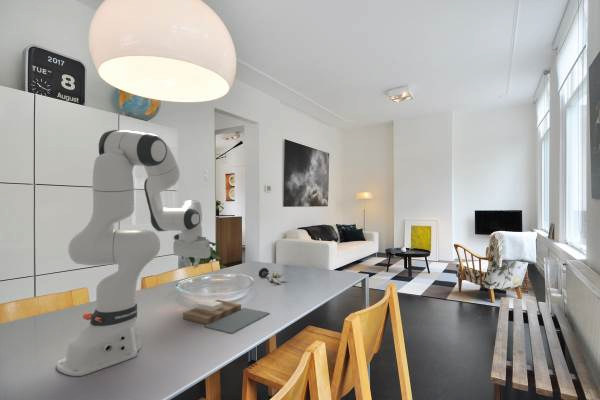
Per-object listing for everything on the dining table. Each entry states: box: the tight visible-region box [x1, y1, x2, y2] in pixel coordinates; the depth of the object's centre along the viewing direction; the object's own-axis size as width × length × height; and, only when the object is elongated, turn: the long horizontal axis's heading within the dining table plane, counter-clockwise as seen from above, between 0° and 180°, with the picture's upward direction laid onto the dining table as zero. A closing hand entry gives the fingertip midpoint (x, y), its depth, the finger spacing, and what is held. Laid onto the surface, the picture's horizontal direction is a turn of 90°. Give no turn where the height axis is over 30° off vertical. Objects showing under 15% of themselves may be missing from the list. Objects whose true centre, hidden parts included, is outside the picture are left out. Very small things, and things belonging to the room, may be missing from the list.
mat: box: [203, 307, 270, 335], centre depth 129 cm, size 24×14×1 cm, turn 151°
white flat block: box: [196, 299, 222, 311], centre depth 137 cm, size 6×9×2 cm, turn 61°
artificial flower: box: [258, 267, 284, 286], centre depth 193 cm, size 9×22×10 cm, turn 26°
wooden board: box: [182, 299, 242, 326], centre depth 136 cm, size 20×14×2 cm
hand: (191, 266), depth 142 cm, fingers open, 3 cm apart
